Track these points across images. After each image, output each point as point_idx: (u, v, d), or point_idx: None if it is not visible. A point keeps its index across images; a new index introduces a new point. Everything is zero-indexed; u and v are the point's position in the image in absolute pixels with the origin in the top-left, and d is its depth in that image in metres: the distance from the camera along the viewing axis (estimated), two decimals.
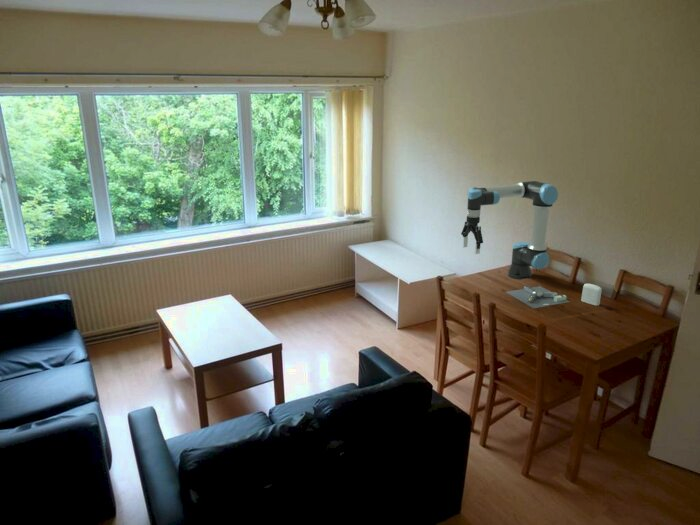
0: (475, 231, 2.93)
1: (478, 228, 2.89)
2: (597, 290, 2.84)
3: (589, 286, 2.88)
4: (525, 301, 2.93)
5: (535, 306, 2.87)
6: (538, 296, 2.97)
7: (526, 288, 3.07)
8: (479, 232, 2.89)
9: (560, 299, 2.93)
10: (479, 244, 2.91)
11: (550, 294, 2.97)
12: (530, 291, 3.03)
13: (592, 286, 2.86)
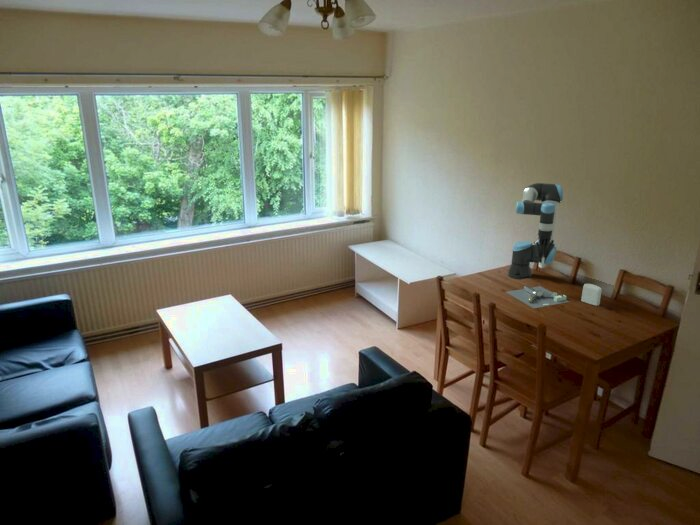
0: (540, 245, 2.96)
1: (535, 243, 2.95)
2: (597, 290, 2.84)
3: (589, 286, 2.88)
4: (525, 301, 2.93)
5: (535, 306, 2.87)
6: (538, 296, 2.97)
7: (526, 288, 3.07)
8: (536, 247, 2.95)
9: (560, 299, 2.93)
10: (539, 258, 2.99)
11: (550, 294, 2.97)
12: (530, 291, 3.03)
13: (592, 286, 2.86)
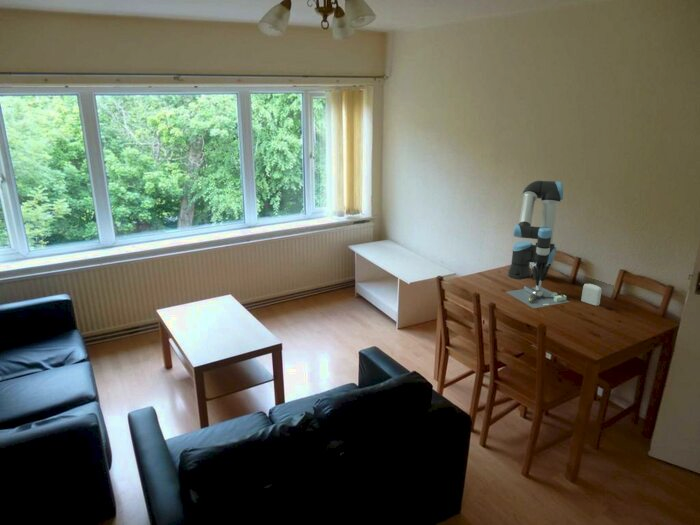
0: (537, 268, 3.01)
1: (532, 267, 3.00)
2: (597, 290, 2.84)
3: (589, 286, 2.88)
4: (525, 301, 2.93)
5: (535, 306, 2.87)
6: (538, 296, 2.97)
7: (526, 288, 3.07)
8: (533, 270, 3.00)
9: (560, 299, 2.93)
10: (536, 281, 3.04)
11: (550, 294, 2.97)
12: (530, 291, 3.03)
13: (592, 286, 2.86)
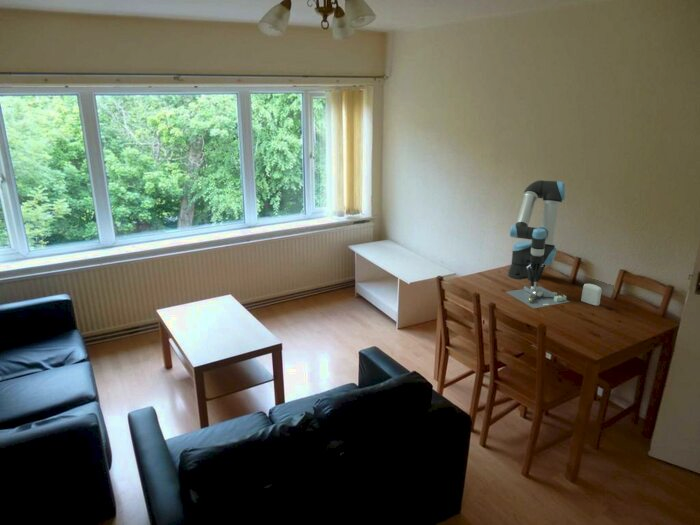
0: (532, 269, 3.00)
1: (527, 268, 2.98)
2: (597, 290, 2.84)
3: (589, 286, 2.88)
4: (525, 301, 2.93)
5: (535, 306, 2.87)
6: (538, 296, 2.97)
7: (526, 288, 3.07)
8: (528, 271, 2.99)
9: (560, 299, 2.93)
10: (531, 282, 3.02)
11: (550, 294, 2.97)
12: (530, 291, 3.03)
13: (592, 286, 2.86)
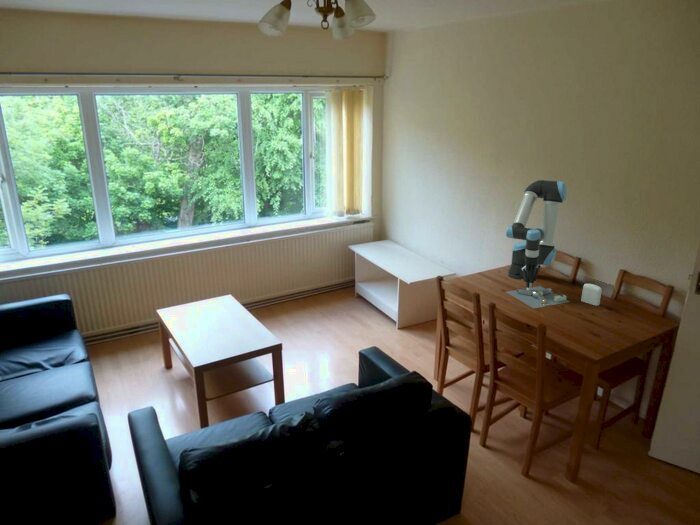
0: (527, 271, 2.99)
1: (522, 270, 2.97)
2: (597, 290, 2.84)
3: (589, 286, 2.88)
4: (525, 301, 2.93)
5: (535, 306, 2.87)
6: (541, 296, 2.97)
7: (522, 291, 3.03)
8: (523, 273, 2.98)
9: (560, 299, 2.93)
10: (527, 283, 3.01)
11: (547, 291, 3.01)
12: (528, 293, 3.01)
13: (592, 286, 2.86)
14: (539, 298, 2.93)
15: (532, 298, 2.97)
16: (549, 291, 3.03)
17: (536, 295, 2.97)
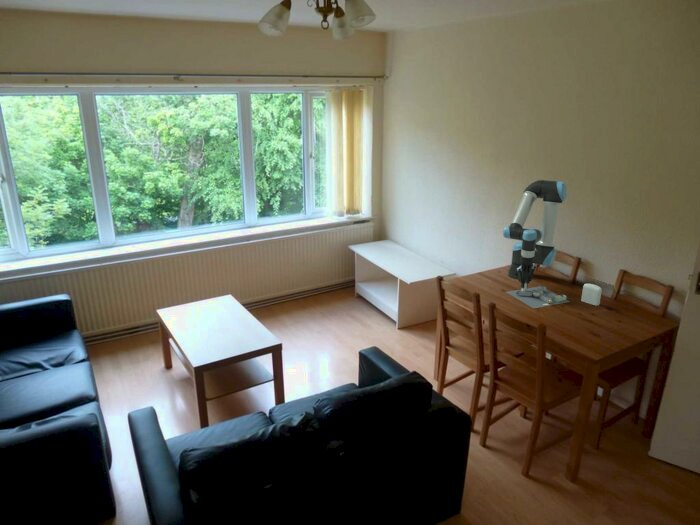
0: (523, 271, 2.98)
1: (517, 270, 2.97)
2: (597, 290, 2.84)
3: (589, 286, 2.88)
4: (525, 301, 2.93)
5: (535, 306, 2.87)
6: None
7: (522, 293, 3.00)
8: (518, 273, 2.97)
9: (560, 299, 2.93)
10: (522, 283, 3.01)
11: (543, 290, 3.03)
12: (528, 294, 2.99)
13: (592, 286, 2.86)
14: (543, 298, 2.93)
15: (532, 298, 2.97)
16: (545, 289, 3.05)
17: (538, 295, 2.96)
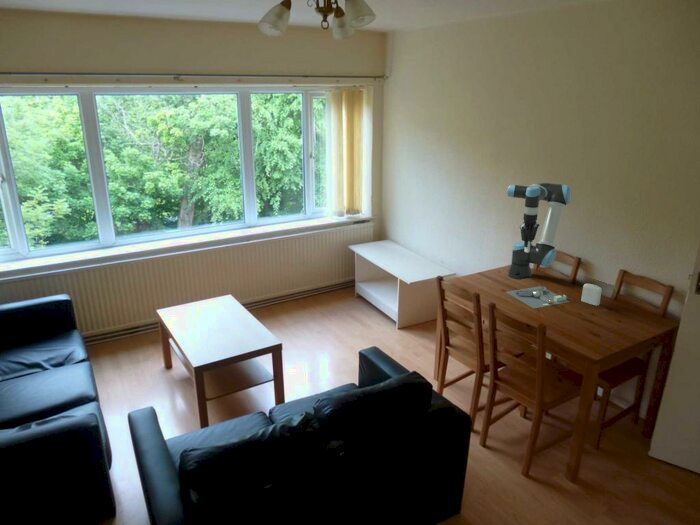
0: (526, 229, 2.93)
1: (520, 228, 2.91)
2: (597, 290, 2.84)
3: (589, 286, 2.88)
4: (525, 301, 2.93)
5: (535, 306, 2.87)
6: None
7: (522, 293, 3.00)
8: (522, 231, 2.92)
9: (560, 299, 2.93)
10: (525, 242, 2.95)
11: (543, 289, 3.03)
12: (528, 294, 2.99)
13: (592, 286, 2.86)
14: (543, 298, 2.93)
15: (532, 298, 2.97)
16: (544, 289, 3.05)
17: (538, 295, 2.96)
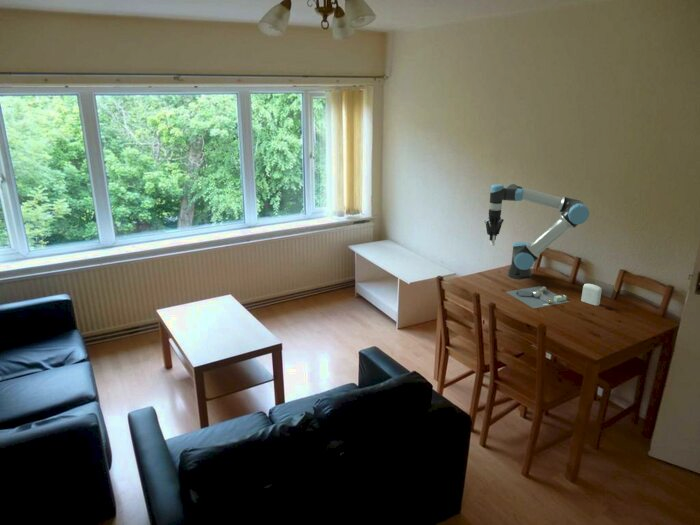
0: (491, 224, 3.16)
1: (485, 222, 3.15)
2: (597, 290, 2.84)
3: (589, 286, 2.88)
4: (525, 301, 2.93)
5: (535, 306, 2.87)
6: None
7: (522, 293, 3.00)
8: (487, 225, 3.15)
9: (560, 299, 2.93)
10: (490, 236, 3.19)
11: (543, 289, 3.03)
12: (528, 294, 2.99)
13: (592, 286, 2.86)
14: (543, 298, 2.93)
15: (532, 298, 2.97)
16: (544, 289, 3.05)
17: (538, 295, 2.96)
